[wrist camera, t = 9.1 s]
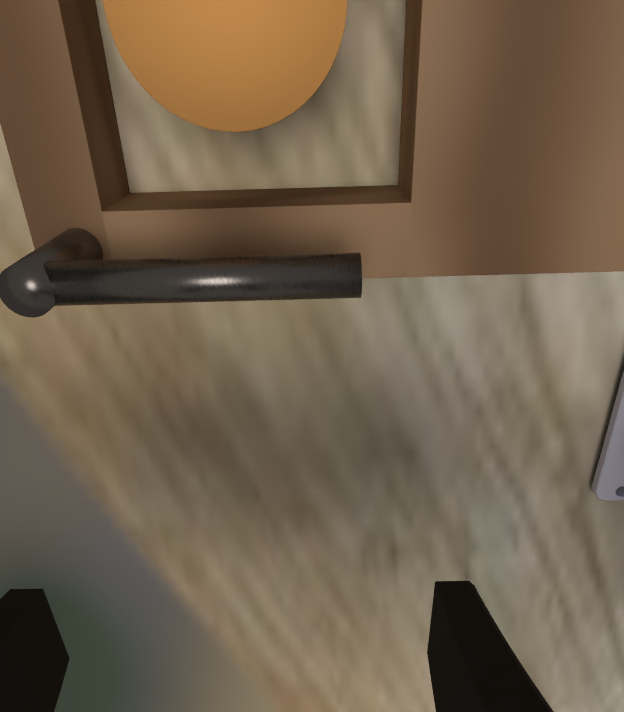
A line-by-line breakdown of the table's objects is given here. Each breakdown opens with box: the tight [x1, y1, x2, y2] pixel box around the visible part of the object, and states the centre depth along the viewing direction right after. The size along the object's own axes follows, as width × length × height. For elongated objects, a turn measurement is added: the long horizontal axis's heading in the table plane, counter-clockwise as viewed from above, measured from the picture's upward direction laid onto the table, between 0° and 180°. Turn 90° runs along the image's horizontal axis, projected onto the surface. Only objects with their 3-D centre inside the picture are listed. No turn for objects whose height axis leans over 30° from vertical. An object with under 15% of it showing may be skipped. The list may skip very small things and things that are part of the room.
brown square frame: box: [0, 0, 624, 278], centre depth 13 cm, size 16×12×2 cm
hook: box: [0, 228, 362, 317], centre depth 14 cm, size 8×1×6 cm, turn 92°
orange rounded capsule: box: [103, 0, 347, 132], centre depth 12 cm, size 4×4×5 cm
